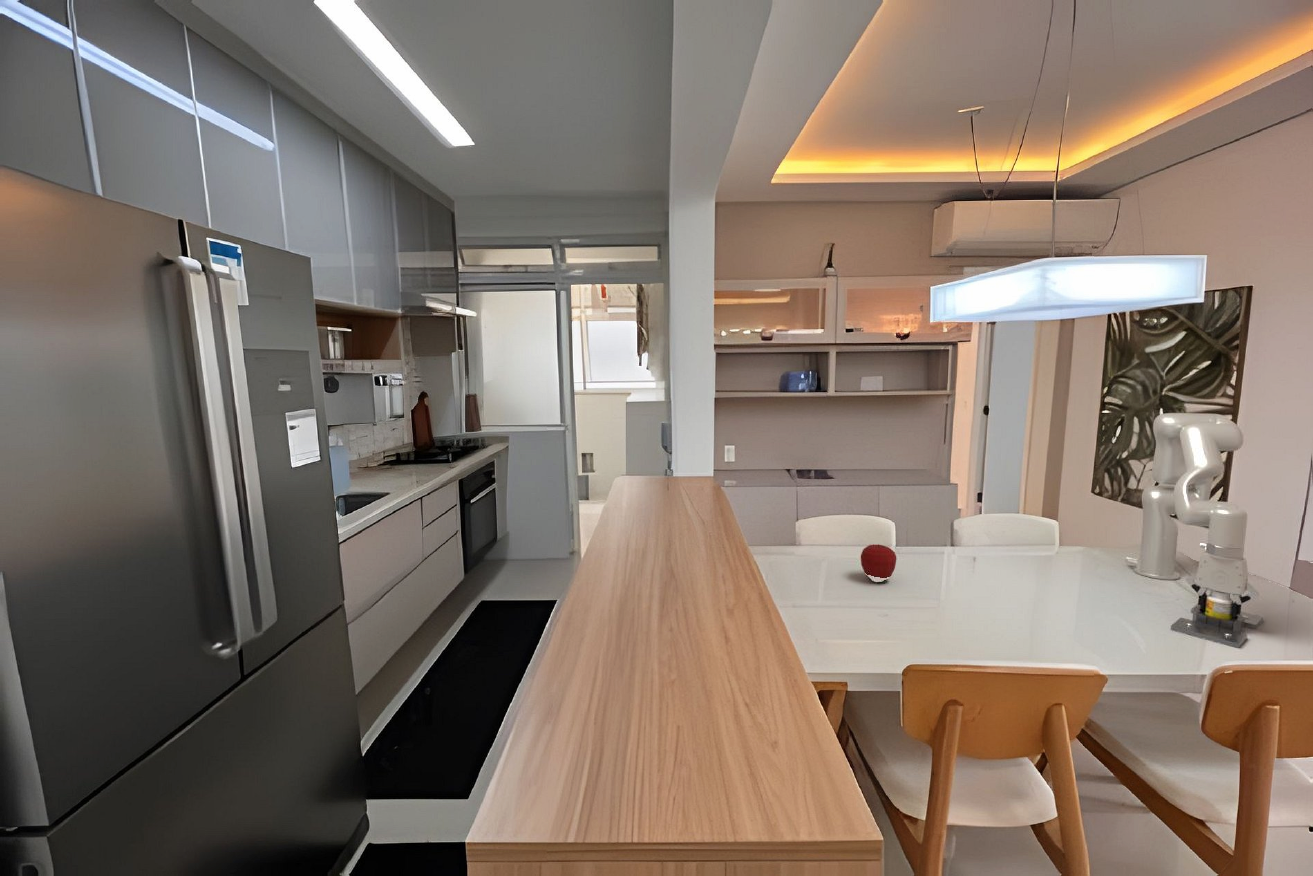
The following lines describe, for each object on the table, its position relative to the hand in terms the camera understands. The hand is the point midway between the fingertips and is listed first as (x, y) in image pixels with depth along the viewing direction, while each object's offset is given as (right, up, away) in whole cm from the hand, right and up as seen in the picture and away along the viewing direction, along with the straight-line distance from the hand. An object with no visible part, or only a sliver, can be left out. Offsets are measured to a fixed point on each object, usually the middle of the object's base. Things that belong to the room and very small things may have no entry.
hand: (1218, 611), depth 171 cm
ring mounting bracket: (0, -4, 0) cm, 4 cm away
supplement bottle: (0, -4, +1) cm, 4 cm away
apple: (-83, -1, +39) cm, 92 cm away
